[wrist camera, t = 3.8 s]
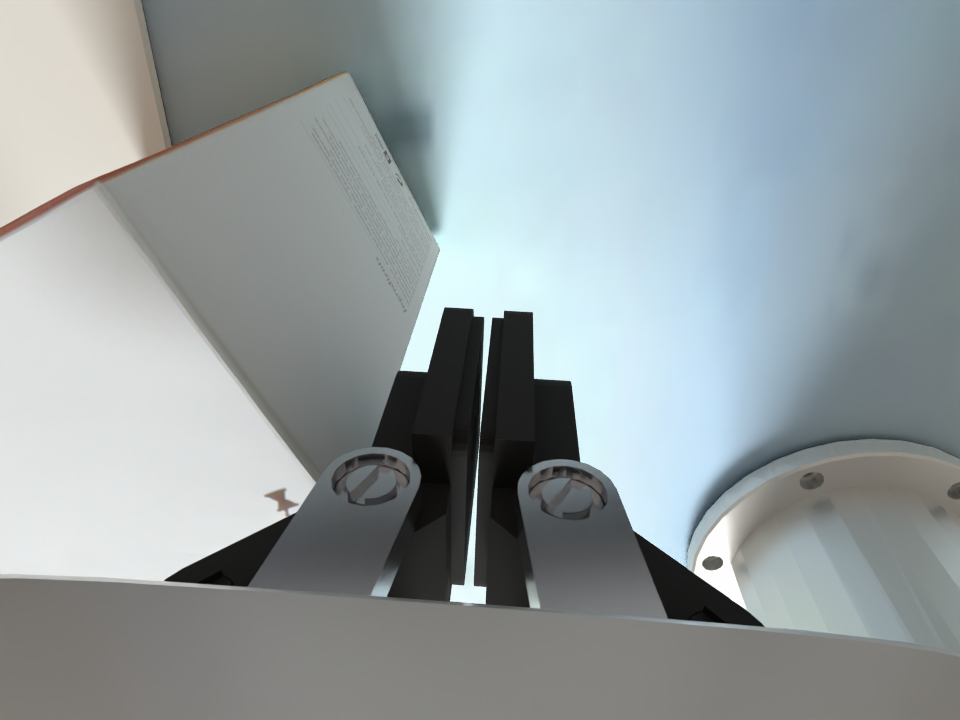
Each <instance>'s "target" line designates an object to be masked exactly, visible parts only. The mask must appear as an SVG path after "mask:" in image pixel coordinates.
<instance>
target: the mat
mask: <svg viewBox="0 0 960 720" xmlns="http://www.w3.org/2000/svg"><path fill="white" fill-rule="evenodd" d="M169 147H172V145H171V140H170V135H169V131H168V126H167V121H166V116H165V112H164V107H163V102H162V97H161V93H160V88H159V83H158V78H157V74H156V69H155V64H154V59H153V55H152V50H151V45H150V40H149V36H148V31H147V26H146V21H145V17H144V12H143V7H142V2H141V0H0V228H1V227H3V226H5V225H6V224H8V223H10V222H12V221H13V220H15V219H17V218H19V217H21V216H22V215H24V214H26V213H28V212H29V211H31V210H33V209H35V208H37V207H38V206H40V205H42V204H44V203H46V202H48V201H50V200H51V199H53V198H55V197H57V196H59V195H61V194H63V193H64V192H66V191H68V190H70V189H72V188H74V187H76V186H78V185H80V184H83V183H85V182H87V181H90V180H92V179H94V178H97V177H99V176H101V175H104V174H106V173H109V172H111V171H114V170H116V169H119V168H121V167H124V166H126V165H129V164H131V163H134V162H136V161H139V160H141V159H143V158H146V157H148V156H150V155H153V154H155V153H158V152H160V151H162V150H165V149H167V148H169Z"/></svg>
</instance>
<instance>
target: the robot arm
mask: <svg viewBox="0 0 960 720" xmlns="http://www.w3.org/2000/svg"><path fill="white" fill-rule="evenodd" d="M483 337H484V317H474V311H473V309H463V308H446V307H445V308H444V311H443V315H442V319H441V323H440V327H439V331H438V334H437V338H436V342H435V346H434V350H433V354H432V357H431V361H430V365H429V369H428V372H412V371H398V372H397V374H396V377H395V380H394V382H393V385H392V388H391V391H390V394H389V397H388V400H387V403H386V406H385V409H384V412H383V415H382V418H381V421H380V424H379V426H378V429H377V432H376V435H375V438H374V441H373V444H372V447H370V448H362V449H357V450H354V451H351V452H348V453H345V454H343V455H342V456H340V457H339V458H337V459H335V460H334V461H332V463H331V464H330V465H329V466H328V467H327V468H326V469H325V470H324V472H323V473H322V475H321V476H320V478H319V479H318V481H317V482H316V484H315V485H314V487H313V488H312V490H311V491H310V493H309V494H308V496H307V497H306V499H305V500H304V502H303V503H302V505H301V506H300V508H299V510H298V511H297V512H296V513H294V514H292V515H290V516H288V517H286V518H284V519H282V520H280V521H278V522H276V523H274V524H272V525H270V526H268V527H266V528H264V529H262V530H259V531H257V532H255V533H253V534H251V535H249V536H247V537H245V538H243V539H241V540H239V541H237V542H235V543H233V544H231V545H229V546H227V547H225V548H223V549H221V550H219V551H217V552H215V553H213V554H211V555H209V556H207V557H205V558H203V559H201V560H199V561H197V562H195V563H193V564H191V565H189V566H187V567H184V568H182V569H181V570H179V571H178V572H176V573H174V574H173V575H171V576H170V577H168V578H166V579H165V580H164V581H152V580H137V579H122V578H107V577H85V576H56V575H27V574H0V720H960V459H959V458H957V457H955V456H952V455H950V454H948V453H945V452H943V451H941V450H939V449H936V448H934V447H930V446H925V445H921V444H917V443H912V442H908V441H901V440H885V439H862V440H850V441H838V442H834V443H829V444H825V445H820V446H816V447H811V448H807V449H804V450H801V451H798V452H796V453H793V454H790V455H788V456H785V457H782V458H779V459H777V460H774V461H772V462H771V463H769V464H767V465H765V466H763V467H761V468H760V469H758V470H756V471H754V472H752V473H750V474H748V475H747V476H745V477H744V478H743V479H742V480H740V481H739V482H738V483H736V484H735V485H734V486H732V487H731V488H730V489H728V490H727V491H726V492H724V493H723V495H722V496H721V497H720V498H719V499H718V500H717V501H716V502H715V503H714V504H713V505H712V506H711V507H710V508H709V509H708V511H707V512H706V513H705V515H704V517H703V518H702V520H701V521H700V523H699V525H698V526H697V528H696V529H695V531H694V534H693V537H692V540H691V543H690V546H689V549H688V557H687V568H686V567H684V566H683V565H681V564H680V563H679V562H677V561H676V560H674V559H673V558H671V557H670V556H669V555H667V554H666V553H664V552H663V551H661V550H660V549H659V548H657V547H656V546H654V545H653V544H651V543H650V542H649V541H647V540H646V539H644V538H643V537H642V536H640V535H639V534H637V533H636V532H634V531H633V529H632V527H631V524H630V522H629V519H628V517H627V514H626V512H625V509H624V506H623V504H622V501H621V499H620V496H619V494H618V491H617V489H616V488H615V486H614V484H613V483H612V481H611V480H610V479H609V478H608V477H607V476H606V475H605V474H603V473H602V472H601V471H600V470H598V469H596V468H594V467H592V466H590V465H588V464H585V463H581V462H580V456H579V447H578V438H577V429H576V420H575V412H574V403H573V394H572V386H571V382H570V381H560V380H543V379H534V356H533V312H516V311H504V318H492V327H491V337H490V346H489V356H488V365H487V374H486V384H485V393H484V403H483V412H482V422H481V432H480V413H481V387H482V362H483ZM479 436H480V446H479ZM478 450H479V468H478V493H477V518H476V543H475V568H474V586H482V587H487V588H486V604H474V603H461V602H450V595H451V587H452V584H454V585H464V582H465V572H466V563H467V554H468V544H469V535H470V525H471V516H472V507H473V497H474V488H475V478H476V469H477V459H478Z"/></svg>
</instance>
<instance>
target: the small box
mask: <svg viewBox="0 0 960 720" xmlns="http://www.w3.org/2000/svg"><path fill="white" fill-rule="evenodd" d="M439 252H440V249H439V246H438V244H437V242H436V240H435V238H434V237H433V235H432V233H431V231H430V229H429V227H428V225H427V223H426V221H425V219H424V217H423V215H422V213H421V212H420V210H419V207H418V205H417V203H416V201H415V200H414V198H413V196H412V194H411V192H410V190H409V188H408V186H407V184H406V182H405V181H404V179H403V177H402V175H401V173H400V171H399V169H398V167H397V165H396V163H395V161H394V160H393V158H392V156H391V154H390V152H389V150H388V148H387V146H386V144H385V142H384V140H383V138H382V136H381V134H380V133H379V131H378V129H377V127H376V125H375V123H374V120H373V118H372V116H371V114H370V113H369V111H368V109H367V107H366V105H365V103H364V101H363V99H362V97H361V95H360V93H359V91H358V89H357V87H356V85H355V83H354V81H353V79H352V77H351V75H350V74H349V73H348V72H342V73H340V74H337V75H335V76H332V77H330V78H327V79H325V80H323V81H320V82H318V83H316V84H314V85H312V86H310V87H308V88H306V89H304V90H302V91H300V92H298V93H296V94H293V95H291V96H288V97H286V98H284V99H281V100H279V101H277V102H274V103H272V104H269V105H267V106H264V107H262V108H260V109H257V110H255V111H253V112H251V113H248V114H246V115H244V116H241V117H239V118H237V119H234V120H232V121H230V122H227V123H225V124H223V125H221V126H218V127H216V128H214V129H211V130H209V131H207V132H204V133H202V134H200V135H198V136H195V137H193V138H191V139H188V140H186V141H184V142H181V143H179V144H177V145H174V146H172V147H169V148H167V149H165V150H162V151H160V152H158V153H155V154H153V155H150V156H148V157H146V158H143V159H141V160H139V161H136V162H134V163H131V164H129V165H126V166H124V167H121V168H119V169H116V170H114V171H111V172H109V173H106V174H104V175H101V176H99V177H97V178H94V179H92V180H90V181H87V182H85V183H83V184H80V185H78V186H76V187H74V188H72V189H70V190H68V191H66V192H64V193H63V194H61V195H59V196H57V197H55V198H53V199H51V200H50V201H48V202H46V203H44V204H42V205H40V206H38V207H37V208H35V209H33V210H31V211H29V212H28V213H26V214H24V215H22V216H21V217H19V218H17V219H15V220H13V221H12V222H10V223H8V224H6V225H5V226H3V227H1V228H0V574H27V575H56V576H85V577H107V578H122V579H137V580H152V581H164V580H165V579H166V578H168V577H170V576H171V575H173V574H174V573H176V572H178V571H179V570H181V569H182V568H184V567H187V566H189V565H191V564H193V563H195V562H197V561H199V560H201V559H203V558H205V557H207V556H209V555H211V554H213V553H215V552H217V551H219V550H221V549H223V548H225V547H227V546H229V545H231V544H233V543H235V542H237V541H239V540H241V539H243V538H245V537H247V536H249V535H251V534H253V533H255V532H257V531H259V530H262V529H264V528H266V527H268V526H270V525H272V524H274V523H276V522H278V521H280V520H282V519H284V518H286V517H288V516H290V515H292V514H294V513H296V512H297V511H298V510H299V508H300V506H301V505H302V503H303V502H304V500H305V499H306V497H307V496H308V494H309V493H310V491H311V490H312V488H313V487H314V485H315V484H316V482H317V481H318V479H319V478H320V476H321V475H322V473H323V472H324V470H325V469H326V468H327V467H328V466H329V465H330V464H331V463H332V461H334V460H335V459H337V458H339V457H340V456H342V455H343V454H345V453H348V452H351V451H354V450H357V449H362V448H370V447H372V444H373V441H374V438H375V435H376V432H377V429H378V426H379V424H380V421H381V418H382V415H383V412H384V409H385V406H386V403H387V400H388V397H389V394H390V391H391V388H392V385H393V382H394V380H395V377H396V374H397V372H398V371H400V368H401V365H402V362H403V359H404V356H405V353H406V350H407V347H408V344H409V341H410V338H411V335H412V332H413V329H414V326H415V323H416V320H417V317H418V314H419V311H420V308H421V305H422V302H423V299H424V296H425V293H426V290H427V287H428V284H429V281H430V278H431V275H432V272H433V269H434V266H435V263H436V260H437V257H438V254H439Z"/></svg>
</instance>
